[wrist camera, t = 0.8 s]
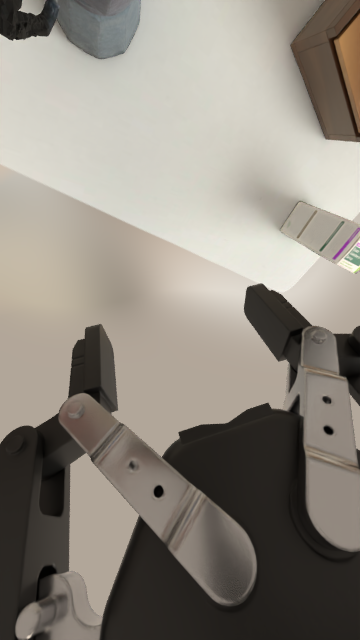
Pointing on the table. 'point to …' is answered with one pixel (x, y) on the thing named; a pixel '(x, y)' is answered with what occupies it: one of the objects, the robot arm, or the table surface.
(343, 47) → the lid
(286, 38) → the table surface
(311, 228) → the syrup box
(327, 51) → the box
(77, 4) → the moka pot
